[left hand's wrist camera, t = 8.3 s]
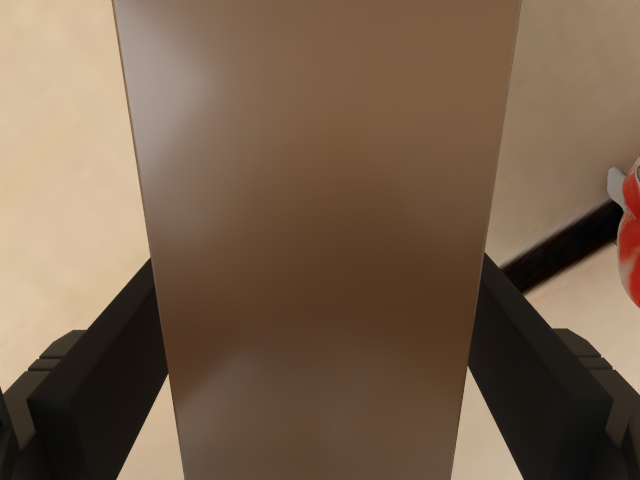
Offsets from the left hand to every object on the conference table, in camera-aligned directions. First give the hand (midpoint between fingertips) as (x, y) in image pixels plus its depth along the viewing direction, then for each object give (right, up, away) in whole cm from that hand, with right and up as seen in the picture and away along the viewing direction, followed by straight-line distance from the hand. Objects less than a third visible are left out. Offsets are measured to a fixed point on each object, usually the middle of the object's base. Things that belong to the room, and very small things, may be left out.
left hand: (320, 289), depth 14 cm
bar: (0, +9, -2) cm, 9 cm away
